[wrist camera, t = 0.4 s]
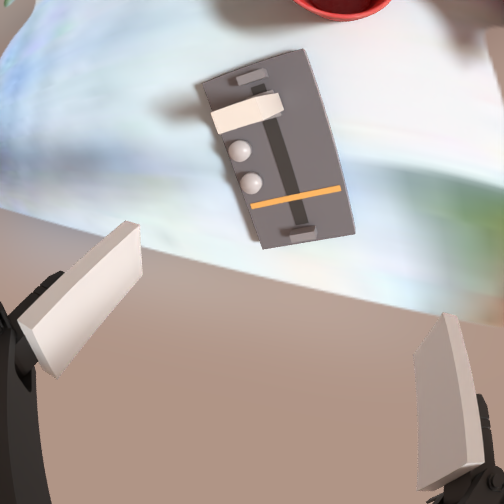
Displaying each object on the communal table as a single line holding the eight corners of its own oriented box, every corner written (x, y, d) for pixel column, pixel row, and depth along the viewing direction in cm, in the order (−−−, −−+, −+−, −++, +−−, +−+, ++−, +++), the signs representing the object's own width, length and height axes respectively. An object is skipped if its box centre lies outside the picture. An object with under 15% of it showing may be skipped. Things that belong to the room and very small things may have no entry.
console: (209, 82, 34) (196, 83, 31) (305, 50, 29) (301, 47, 26) (266, 242, 43) (259, 255, 40) (355, 226, 38) (355, 240, 35)
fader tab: (243, 99, 32) (208, 107, 24) (277, 88, 30) (252, 91, 22) (252, 124, 33) (220, 140, 25) (286, 114, 32) (265, 126, 24)
